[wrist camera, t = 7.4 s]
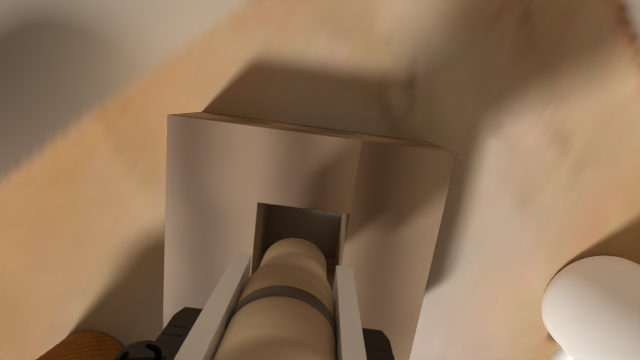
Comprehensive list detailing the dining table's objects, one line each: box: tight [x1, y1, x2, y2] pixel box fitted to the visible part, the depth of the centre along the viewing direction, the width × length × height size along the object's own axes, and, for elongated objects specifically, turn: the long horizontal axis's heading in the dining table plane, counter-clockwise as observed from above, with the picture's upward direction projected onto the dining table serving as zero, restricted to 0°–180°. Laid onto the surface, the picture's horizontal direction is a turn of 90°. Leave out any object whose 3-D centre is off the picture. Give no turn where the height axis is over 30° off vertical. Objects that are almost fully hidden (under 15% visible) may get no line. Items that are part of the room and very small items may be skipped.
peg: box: [213, 238, 337, 360], centre depth 11 cm, size 4×4×12 cm
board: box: [163, 112, 457, 360], centre depth 22 cm, size 16×14×5 cm
